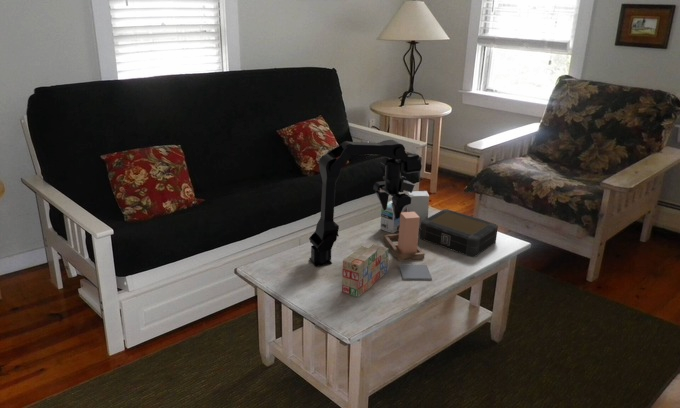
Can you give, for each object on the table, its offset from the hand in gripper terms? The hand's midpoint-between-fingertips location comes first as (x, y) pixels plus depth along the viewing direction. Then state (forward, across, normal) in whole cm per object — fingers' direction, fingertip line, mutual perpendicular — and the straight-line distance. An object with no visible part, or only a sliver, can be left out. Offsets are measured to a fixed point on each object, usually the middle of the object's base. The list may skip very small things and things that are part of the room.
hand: (390, 214), depth 212 cm
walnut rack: (+15, -2, -5) cm, 16 cm away
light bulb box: (+15, +17, -12) cm, 26 cm away
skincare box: (+15, +15, -22) cm, 30 cm away
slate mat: (+15, -20, 0) cm, 25 cm away
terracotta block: (+15, -6, -5) cm, 16 cm away
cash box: (+15, -3, -30) cm, 34 cm away
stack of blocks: (+15, -19, +19) cm, 31 cm away
